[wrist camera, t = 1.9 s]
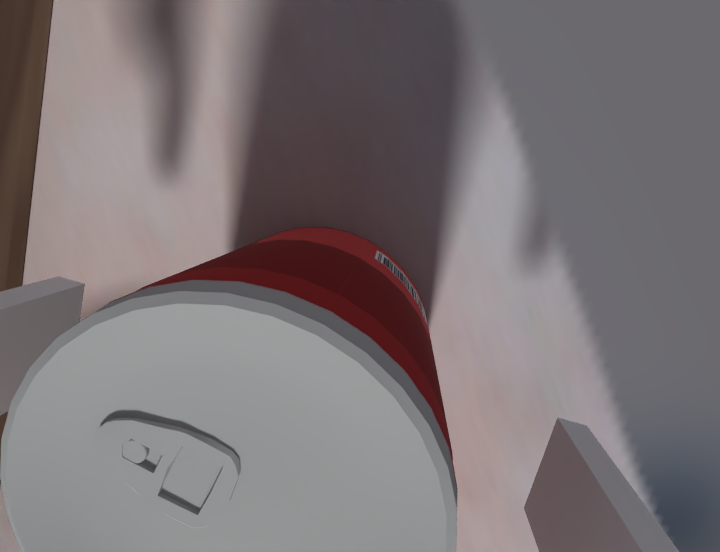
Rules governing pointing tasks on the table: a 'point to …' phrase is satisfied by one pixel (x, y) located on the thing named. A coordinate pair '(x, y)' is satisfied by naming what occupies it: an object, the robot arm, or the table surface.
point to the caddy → (19, 127)
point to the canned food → (240, 413)
